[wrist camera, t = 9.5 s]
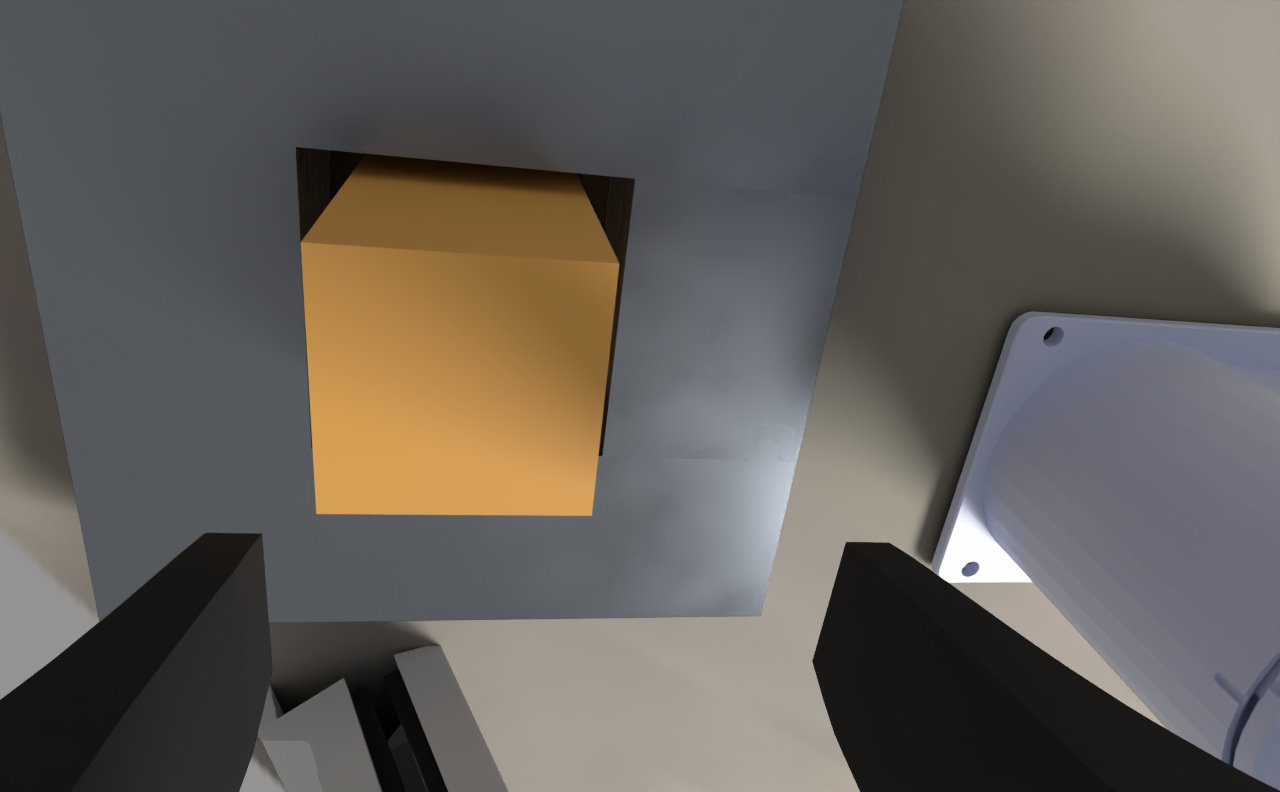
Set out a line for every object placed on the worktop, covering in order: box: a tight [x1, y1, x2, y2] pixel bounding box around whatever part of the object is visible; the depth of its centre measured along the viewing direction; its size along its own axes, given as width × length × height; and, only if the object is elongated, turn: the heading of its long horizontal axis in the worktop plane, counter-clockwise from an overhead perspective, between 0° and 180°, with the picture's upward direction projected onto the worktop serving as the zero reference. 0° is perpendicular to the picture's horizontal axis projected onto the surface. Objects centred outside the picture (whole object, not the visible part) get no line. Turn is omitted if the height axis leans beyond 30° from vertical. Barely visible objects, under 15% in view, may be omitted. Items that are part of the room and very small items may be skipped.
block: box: [301, 154, 619, 516], centre depth 15 cm, size 4×4×7 cm
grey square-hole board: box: [0, 0, 904, 623], centre depth 16 cm, size 14×14×3 cm
